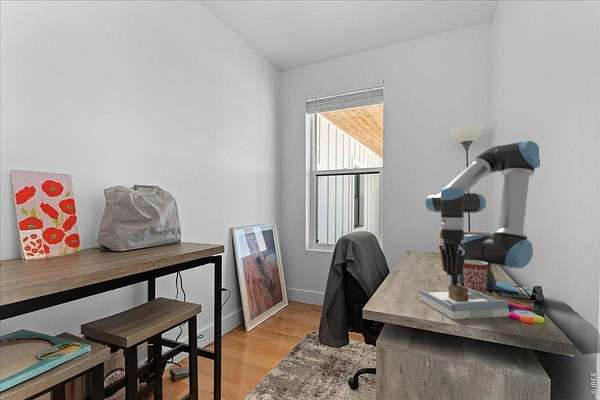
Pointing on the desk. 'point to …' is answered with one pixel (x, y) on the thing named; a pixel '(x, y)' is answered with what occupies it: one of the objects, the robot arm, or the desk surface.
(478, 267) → the mug
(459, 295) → the walnut cube
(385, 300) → the desk surface
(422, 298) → the tray
